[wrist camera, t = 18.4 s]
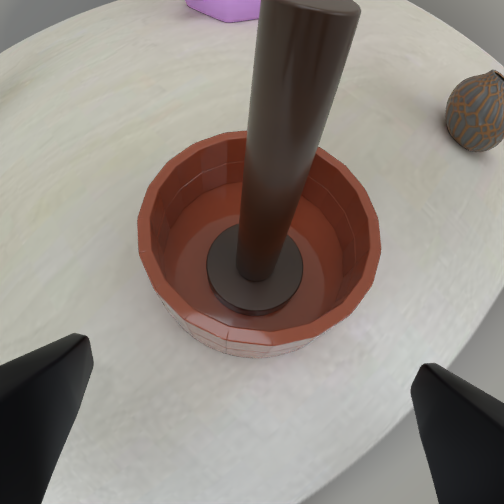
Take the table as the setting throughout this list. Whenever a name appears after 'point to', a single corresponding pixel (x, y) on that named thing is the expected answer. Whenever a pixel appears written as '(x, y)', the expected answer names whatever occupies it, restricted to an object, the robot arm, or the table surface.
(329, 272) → the bowl
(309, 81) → the dark brown rod
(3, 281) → the table surface
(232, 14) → the teakettle
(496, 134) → the vase
